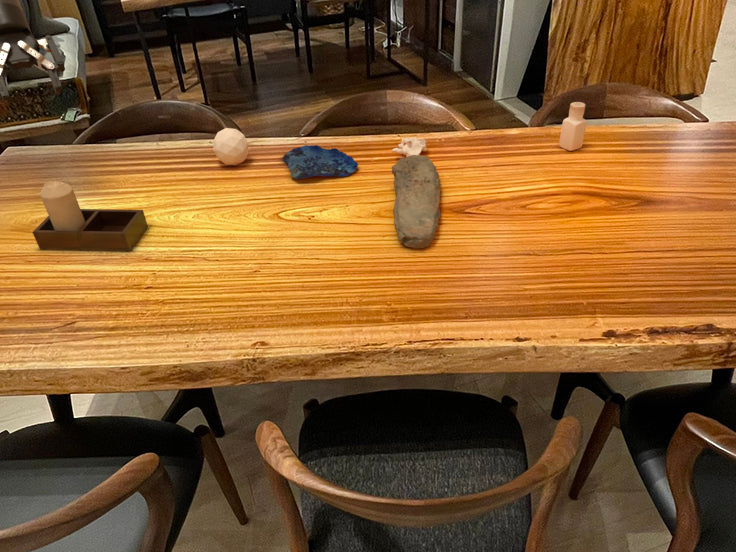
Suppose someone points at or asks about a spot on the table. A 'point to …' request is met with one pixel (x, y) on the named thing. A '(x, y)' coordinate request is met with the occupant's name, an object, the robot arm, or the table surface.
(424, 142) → the pelvis model
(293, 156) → the rock
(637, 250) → the table surface
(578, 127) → the pepper shaker
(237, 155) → the geometric ball
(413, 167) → the long grey stone
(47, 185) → the candle
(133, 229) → the box
